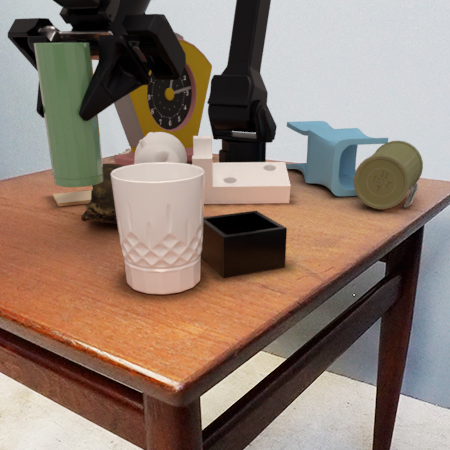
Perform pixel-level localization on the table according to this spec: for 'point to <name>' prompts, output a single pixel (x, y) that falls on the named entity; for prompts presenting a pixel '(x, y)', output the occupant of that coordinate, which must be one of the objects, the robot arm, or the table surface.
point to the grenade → (389, 175)
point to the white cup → (160, 224)
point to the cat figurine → (160, 149)
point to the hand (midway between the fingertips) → (61, 116)
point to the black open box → (243, 243)
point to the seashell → (102, 199)
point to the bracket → (240, 178)
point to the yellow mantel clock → (167, 105)
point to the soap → (125, 152)
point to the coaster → (72, 198)
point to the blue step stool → (331, 155)
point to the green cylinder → (69, 113)
